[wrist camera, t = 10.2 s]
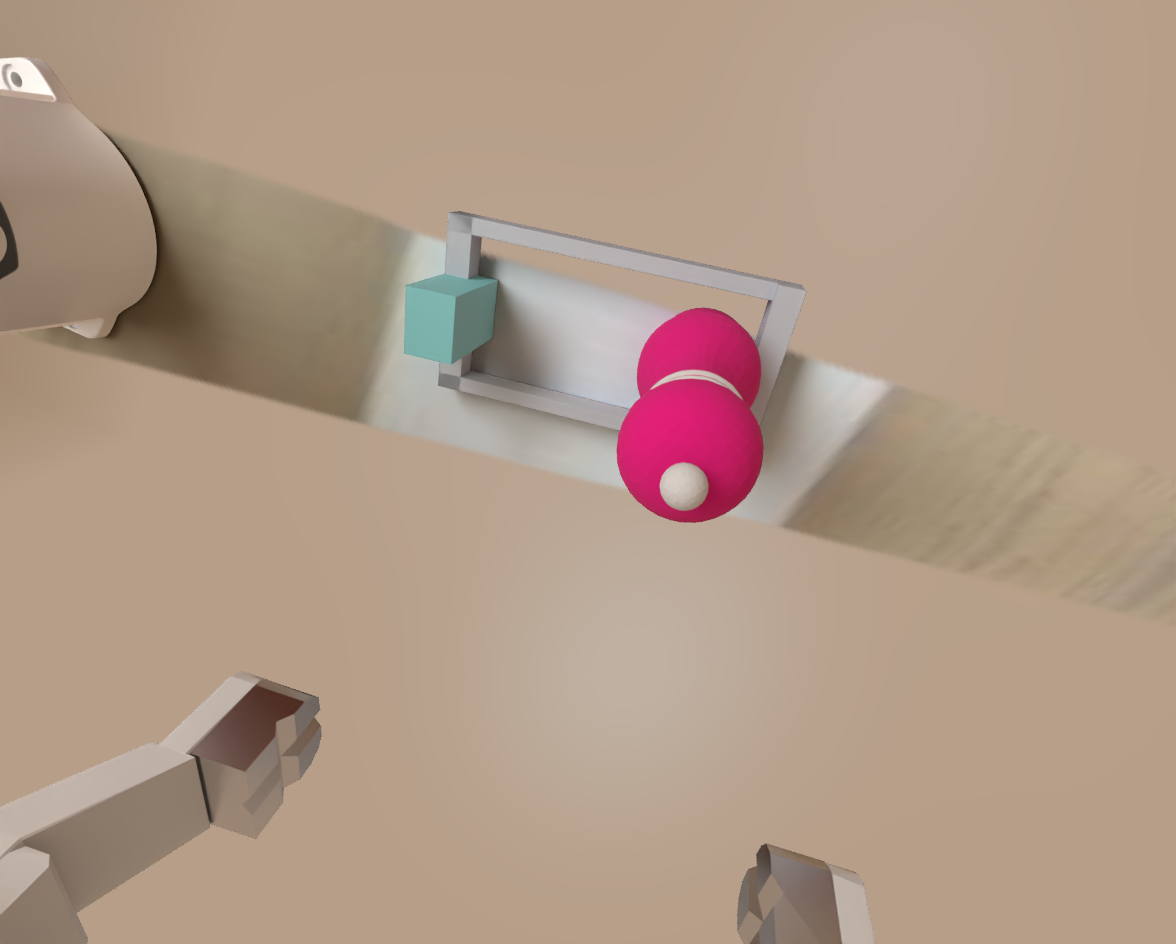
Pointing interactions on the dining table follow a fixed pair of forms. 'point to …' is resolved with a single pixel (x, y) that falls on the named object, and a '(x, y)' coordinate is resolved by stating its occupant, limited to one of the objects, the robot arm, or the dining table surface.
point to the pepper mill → (693, 419)
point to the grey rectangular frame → (467, 301)
